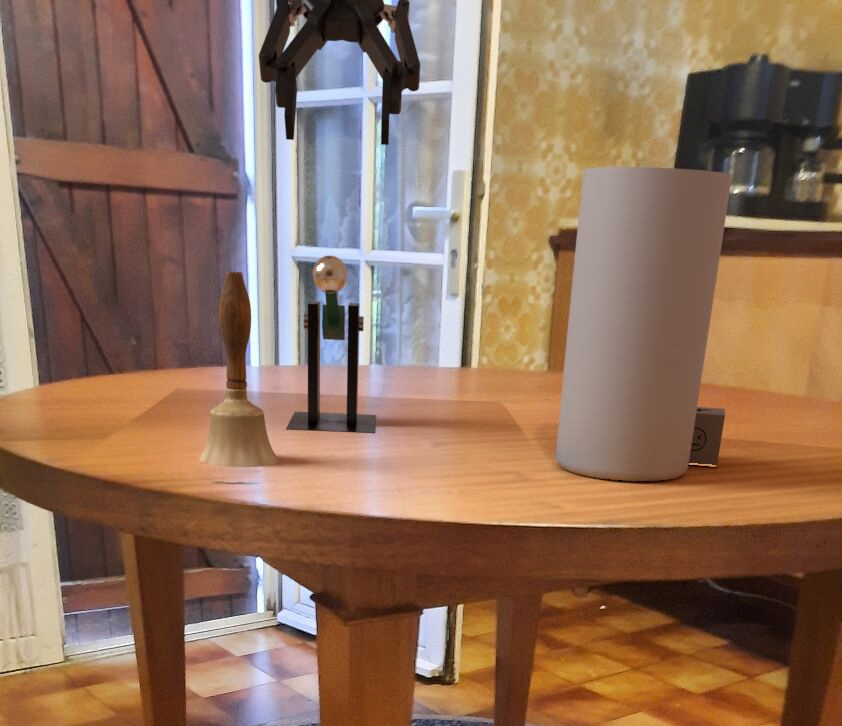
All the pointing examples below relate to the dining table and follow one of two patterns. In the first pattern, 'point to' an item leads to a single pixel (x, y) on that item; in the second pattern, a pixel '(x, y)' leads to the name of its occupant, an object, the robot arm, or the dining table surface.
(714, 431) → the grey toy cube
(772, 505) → the dining table surface
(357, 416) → the bracket
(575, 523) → the dining table surface
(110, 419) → the dining table surface
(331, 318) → the lever
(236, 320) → the hand bell
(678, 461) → the cylinder vase
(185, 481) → the dining table surface
